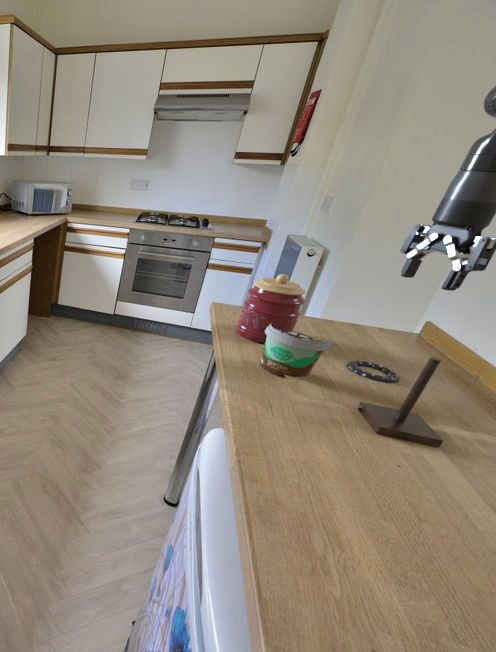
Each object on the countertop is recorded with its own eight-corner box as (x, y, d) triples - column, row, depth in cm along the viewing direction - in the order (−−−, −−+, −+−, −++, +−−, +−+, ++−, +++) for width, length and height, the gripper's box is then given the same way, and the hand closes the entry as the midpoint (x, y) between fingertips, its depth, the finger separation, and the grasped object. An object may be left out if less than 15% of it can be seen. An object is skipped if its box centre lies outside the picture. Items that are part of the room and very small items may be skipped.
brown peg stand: (413, 419, 79) (454, 353, 73) (439, 447, 72) (487, 376, 66) (357, 407, 82) (391, 343, 76) (376, 433, 75) (416, 364, 68)
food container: (246, 367, 96) (261, 328, 92) (254, 359, 100) (268, 321, 96) (309, 389, 88) (328, 347, 84) (315, 379, 92) (333, 339, 88)
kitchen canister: (263, 348, 106) (288, 282, 98) (224, 328, 117) (243, 268, 109) (300, 343, 110) (327, 280, 102) (259, 324, 121) (280, 266, 113)
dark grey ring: (386, 371, 98) (389, 364, 97) (404, 389, 90) (409, 382, 89) (339, 362, 100) (342, 356, 100) (354, 380, 93) (357, 373, 92)
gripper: (539, 204, 68) (483, 296, 76) (452, 195, 81) (411, 274, 88) (495, 202, 68) (443, 294, 75) (415, 193, 81) (377, 272, 88)
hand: (426, 283), depth 82 cm, fingers open, 8 cm apart
